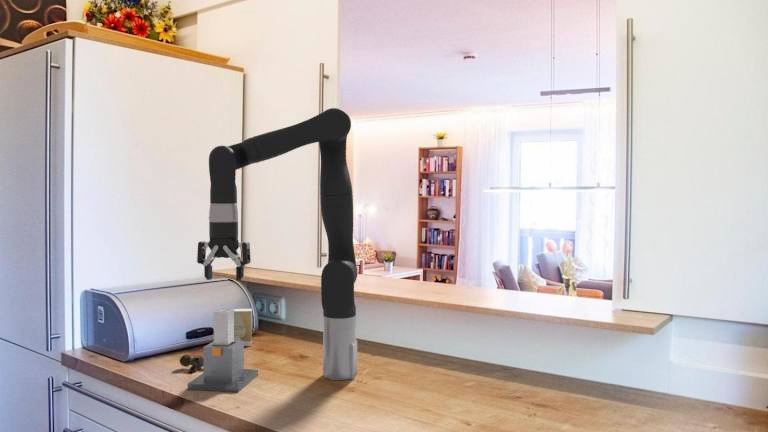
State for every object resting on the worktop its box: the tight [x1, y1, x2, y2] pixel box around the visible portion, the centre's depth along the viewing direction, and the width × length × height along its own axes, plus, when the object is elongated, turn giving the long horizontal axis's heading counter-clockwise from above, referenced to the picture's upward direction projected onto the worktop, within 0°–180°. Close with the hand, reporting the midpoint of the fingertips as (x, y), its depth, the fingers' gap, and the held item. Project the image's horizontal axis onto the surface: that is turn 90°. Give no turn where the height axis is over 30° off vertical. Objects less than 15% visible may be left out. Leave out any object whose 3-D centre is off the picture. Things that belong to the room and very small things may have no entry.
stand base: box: [187, 340, 259, 393], centre depth 150 cm, size 14×14×10 cm
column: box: [213, 308, 235, 347], centre depth 150 cm, size 4×4×18 cm
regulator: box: [179, 354, 204, 375], centre depth 160 cm, size 8×4×15 cm
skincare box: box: [233, 308, 253, 347], centre depth 188 cm, size 6×4×12 cm
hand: (223, 279), depth 149 cm, fingers open, 8 cm apart
